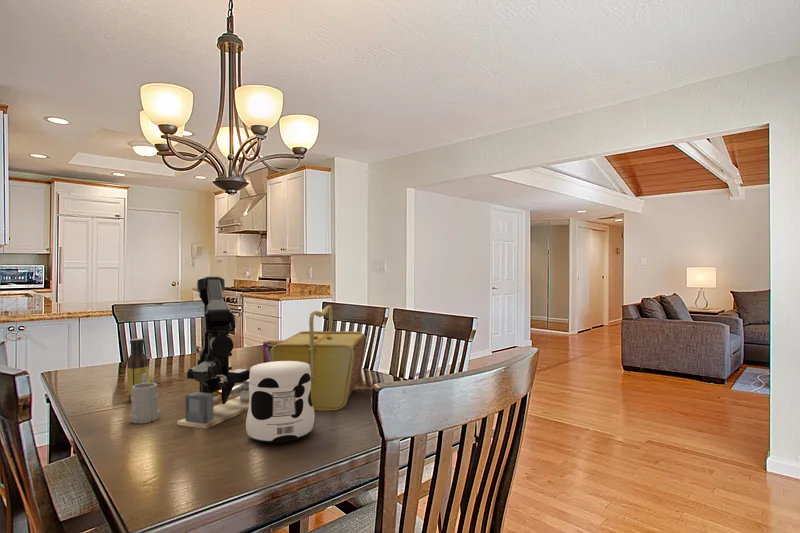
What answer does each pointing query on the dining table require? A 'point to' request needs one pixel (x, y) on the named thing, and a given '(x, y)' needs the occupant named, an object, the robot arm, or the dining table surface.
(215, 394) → the tube
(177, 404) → the dining table surface
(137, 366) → the sauce bottle
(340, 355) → the picnic basket
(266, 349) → the candy box
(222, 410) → the board
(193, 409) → the socket
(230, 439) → the dining table surface
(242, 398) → the sleeve
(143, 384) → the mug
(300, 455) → the dining table surface
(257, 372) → the milk container
